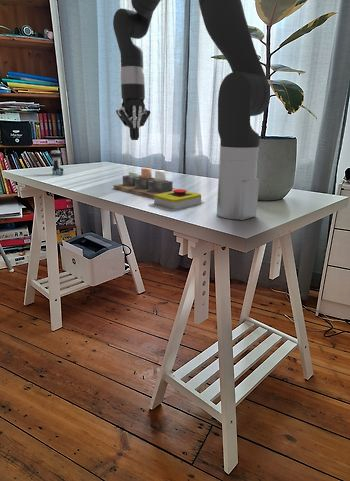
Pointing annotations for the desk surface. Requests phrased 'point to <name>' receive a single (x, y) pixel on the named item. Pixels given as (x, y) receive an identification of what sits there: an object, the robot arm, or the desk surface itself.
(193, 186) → the desk surface
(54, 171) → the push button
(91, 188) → the desk surface
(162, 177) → the ivory key
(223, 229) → the desk surface
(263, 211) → the desk surface
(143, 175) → the peach small block
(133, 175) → the sage key
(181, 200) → the emergency button
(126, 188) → the brown wooden flat board
